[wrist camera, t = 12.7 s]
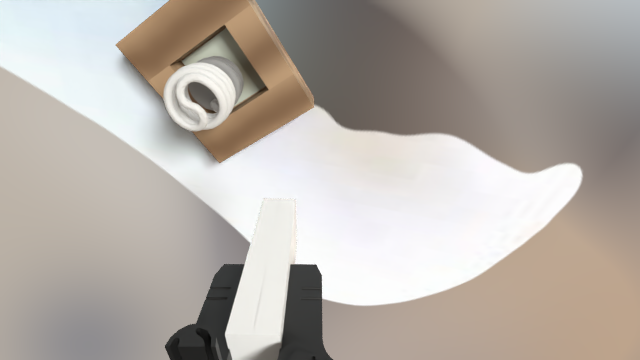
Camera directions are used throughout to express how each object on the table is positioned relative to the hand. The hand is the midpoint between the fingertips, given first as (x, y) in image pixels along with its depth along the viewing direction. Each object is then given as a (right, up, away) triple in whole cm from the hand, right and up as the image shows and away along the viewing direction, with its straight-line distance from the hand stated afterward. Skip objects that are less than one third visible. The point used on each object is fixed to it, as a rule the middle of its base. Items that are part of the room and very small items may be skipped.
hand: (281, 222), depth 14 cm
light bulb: (-9, +14, +21) cm, 27 cm away
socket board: (-9, +15, +21) cm, 28 cm away
